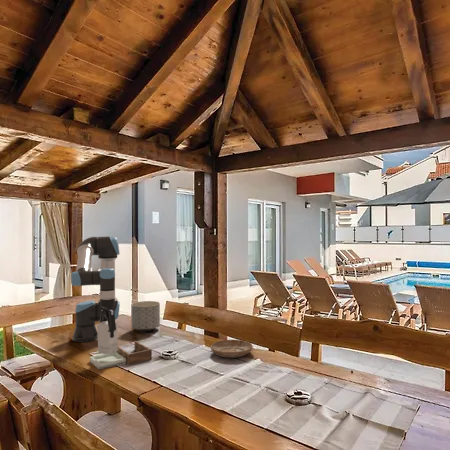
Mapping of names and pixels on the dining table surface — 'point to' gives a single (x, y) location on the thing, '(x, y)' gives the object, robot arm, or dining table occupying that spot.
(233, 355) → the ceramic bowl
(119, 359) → the tray
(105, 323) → the skincare box
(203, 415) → the dining table surface
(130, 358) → the box
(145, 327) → the planter
